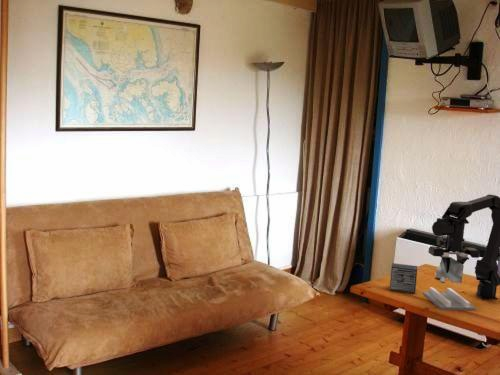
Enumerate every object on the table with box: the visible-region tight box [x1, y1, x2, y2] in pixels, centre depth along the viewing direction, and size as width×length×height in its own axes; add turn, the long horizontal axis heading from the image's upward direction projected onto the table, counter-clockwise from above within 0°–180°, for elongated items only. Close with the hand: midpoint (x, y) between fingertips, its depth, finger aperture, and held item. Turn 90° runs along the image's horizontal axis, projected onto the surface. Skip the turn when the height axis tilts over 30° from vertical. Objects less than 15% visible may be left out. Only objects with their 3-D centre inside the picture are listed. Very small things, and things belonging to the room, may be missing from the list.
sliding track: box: [422, 286, 476, 311], centre depth 244 cm, size 14×18×3 cm
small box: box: [388, 262, 418, 294], centre depth 255 cm, size 11×6×10 cm, turn 74°
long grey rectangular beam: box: [441, 256, 465, 284], centre depth 242 cm, size 4×12×7 cm, turn 5°
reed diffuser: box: [434, 236, 447, 283], centre depth 274 cm, size 10×7×20 cm
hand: (451, 273), depth 242 cm, fingers closed on long grey rectangular beam, 3 cm apart
